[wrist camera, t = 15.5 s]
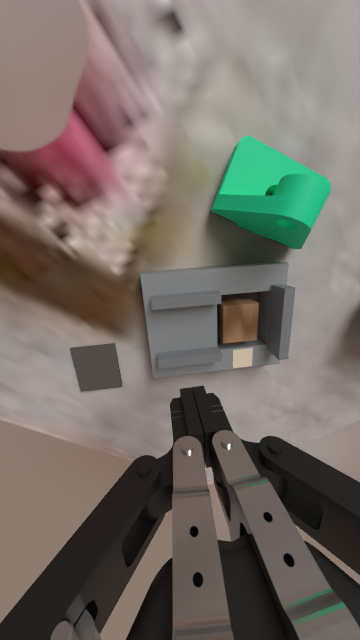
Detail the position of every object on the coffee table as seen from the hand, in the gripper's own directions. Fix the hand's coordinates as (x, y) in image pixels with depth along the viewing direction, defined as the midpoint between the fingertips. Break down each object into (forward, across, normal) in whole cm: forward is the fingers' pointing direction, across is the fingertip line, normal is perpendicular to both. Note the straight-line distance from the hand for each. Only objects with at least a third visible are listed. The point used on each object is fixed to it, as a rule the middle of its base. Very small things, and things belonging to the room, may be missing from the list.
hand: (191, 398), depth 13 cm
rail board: (+17, -6, +1) cm, 18 cm away
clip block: (+15, -8, +1) cm, 18 cm away
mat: (+17, +11, +7) cm, 22 cm away
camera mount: (+18, -13, -14) cm, 26 cm away
